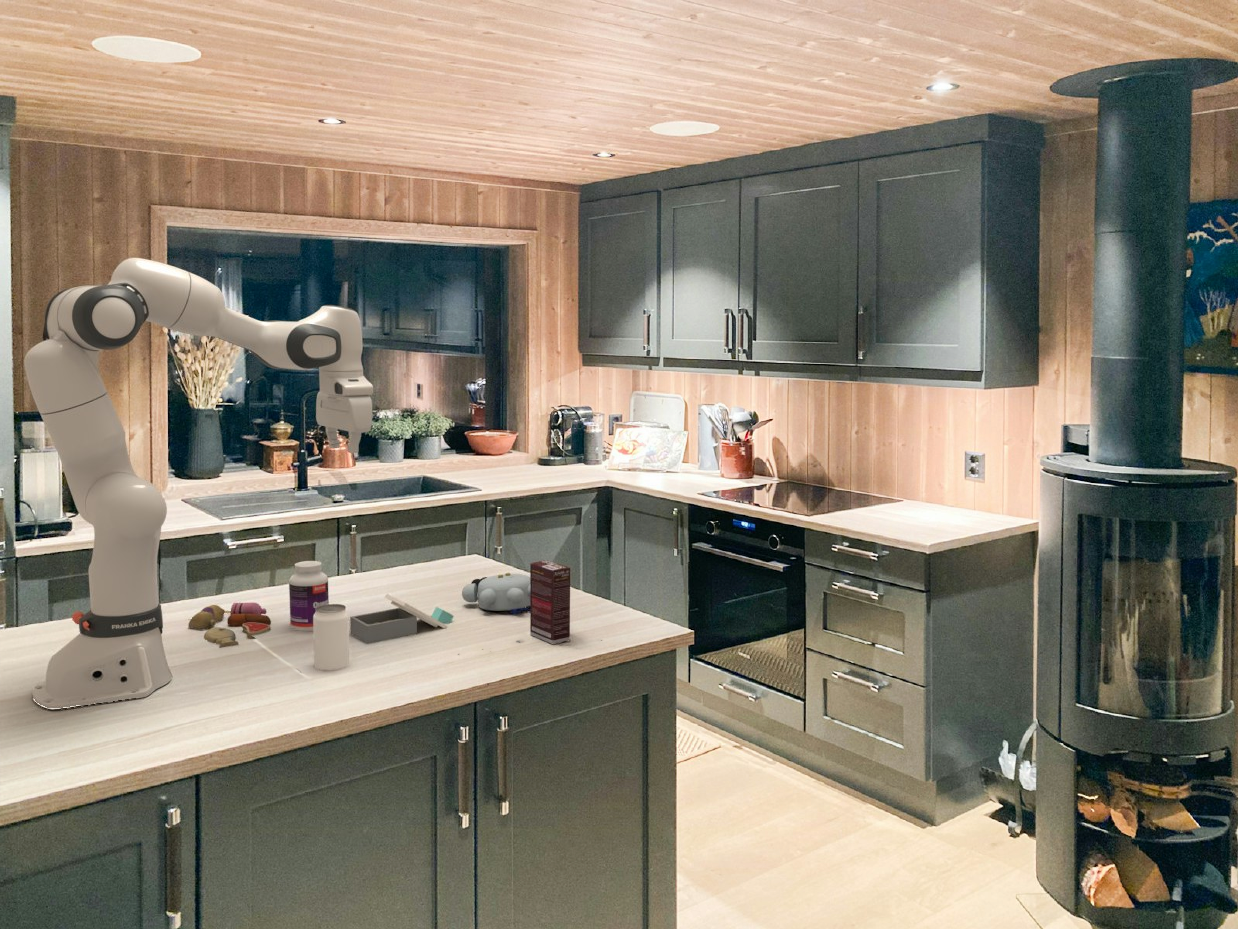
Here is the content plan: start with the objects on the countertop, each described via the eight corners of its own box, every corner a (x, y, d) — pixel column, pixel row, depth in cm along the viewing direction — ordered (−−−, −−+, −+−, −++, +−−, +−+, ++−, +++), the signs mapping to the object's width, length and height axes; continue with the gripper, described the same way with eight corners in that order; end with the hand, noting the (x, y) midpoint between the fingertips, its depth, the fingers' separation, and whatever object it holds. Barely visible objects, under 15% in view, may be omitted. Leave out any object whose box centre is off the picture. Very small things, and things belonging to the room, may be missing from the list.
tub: (367, 647, 207) (367, 626, 206) (350, 637, 213) (350, 616, 212) (417, 637, 214) (416, 616, 213) (399, 627, 220) (398, 607, 219)
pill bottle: (318, 635, 214) (316, 569, 212) (283, 633, 216) (281, 567, 213) (336, 624, 222) (334, 560, 220) (302, 622, 223) (300, 558, 221)
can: (331, 676, 190) (329, 614, 188) (307, 670, 193) (305, 609, 192) (356, 666, 195) (355, 606, 194) (333, 660, 199) (331, 601, 197)
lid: (402, 608, 211) (411, 591, 211) (383, 599, 217) (392, 583, 218) (451, 635, 219) (460, 619, 220) (431, 625, 226) (440, 609, 227)
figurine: (559, 605, 237) (504, 597, 251) (557, 570, 237) (502, 564, 251) (502, 621, 225) (448, 611, 239) (499, 583, 224) (445, 576, 238)
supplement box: (571, 640, 213) (571, 567, 211) (552, 645, 210) (552, 570, 208) (547, 630, 219) (547, 559, 217) (529, 635, 216) (529, 562, 214)
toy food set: (175, 622, 224) (174, 605, 223) (247, 609, 234) (247, 592, 234) (219, 651, 205) (218, 632, 204) (296, 635, 216) (295, 617, 215)
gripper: (307, 382, 216) (309, 446, 218) (347, 387, 201) (349, 456, 202) (335, 381, 220) (337, 444, 222) (377, 386, 204) (378, 454, 206)
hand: (343, 450), depth 212 cm, fingers open, 8 cm apart
